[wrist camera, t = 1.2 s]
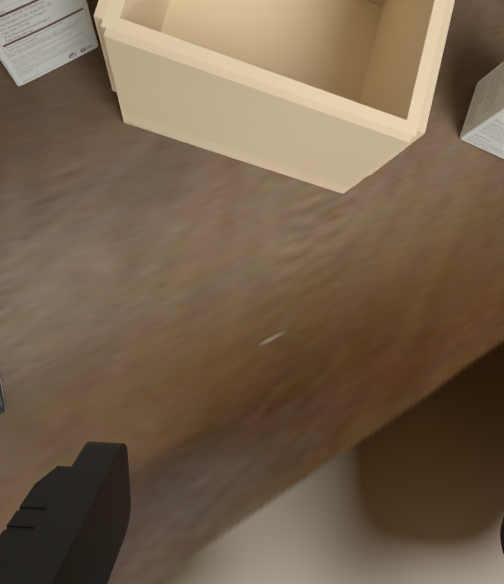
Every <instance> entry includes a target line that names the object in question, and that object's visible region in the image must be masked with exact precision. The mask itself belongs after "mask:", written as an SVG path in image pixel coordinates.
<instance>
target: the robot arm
mask: <svg viewBox="0 0 504 584" xmlns="http://www.w3.org/2000/svg"><path fill="white" fill-rule="evenodd" d="M130 510H131V496H130V481H129V467H128V452H127V447H126V445H125V444H122V443H106V442H88V443H86V444H85V446H84V447H83V449H82V450H81V452H80V454H79V455H78V457H77V459H76V460H75V462H74V464H73V465H72V467H66V466H57V467H56V468H55V469H54V470H52V471H51V472H50V473H48V474H47V475H46V476H45V477H43V478H42V479H41V480H40V481H38V482H37V483H36V484H35V485H34V486H33V488H32V489H31V491H30V492H29V494H28V495H27V497H26V498H25V500H24V501H23V503H22V504H21V505H20V509H19V511H16V513H15V514H14V516H13V517H12V519H11V520H10V522H9V523H8V525H7V529H6V530H3V532H2V533H1V535H0V584H107V583H108V581H109V578H110V575H111V572H112V570H113V567H114V564H115V562H116V559H117V556H118V554H119V551H120V548H121V546H122V543H123V540H124V537H125V535H126V531H127V528H128V523H129V518H130ZM500 535H501V545H502V550H503V553H504V518H503V521H502V525H501V532H500Z"/></svg>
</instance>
